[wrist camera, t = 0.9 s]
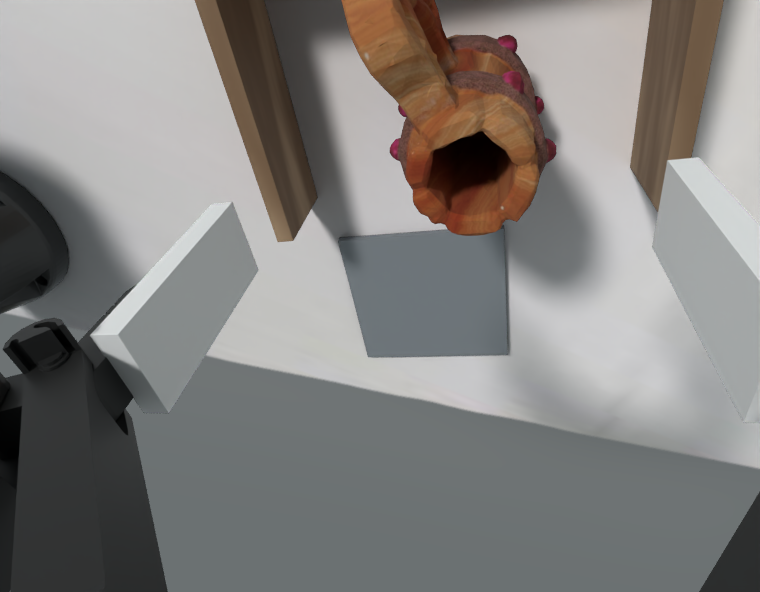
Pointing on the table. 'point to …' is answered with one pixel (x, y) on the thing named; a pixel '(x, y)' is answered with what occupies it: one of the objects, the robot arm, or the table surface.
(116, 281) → the table surface
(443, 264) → the rubber mat
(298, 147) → the wooden boards
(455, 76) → the mug
